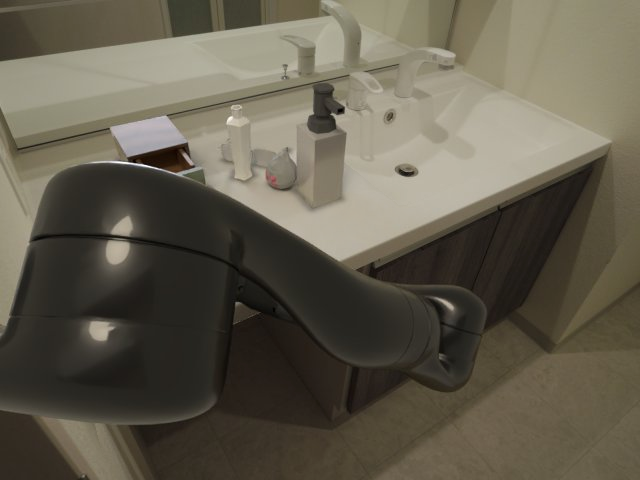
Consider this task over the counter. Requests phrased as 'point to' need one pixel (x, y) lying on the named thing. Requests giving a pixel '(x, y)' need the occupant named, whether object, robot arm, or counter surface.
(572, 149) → the counter surface
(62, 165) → the counter surface
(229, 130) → the perfume bottle
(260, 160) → the eyeglasses
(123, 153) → the cabinet
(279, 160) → the figurine
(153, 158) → the drawer
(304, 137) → the soap dispenser
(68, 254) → the robot arm
